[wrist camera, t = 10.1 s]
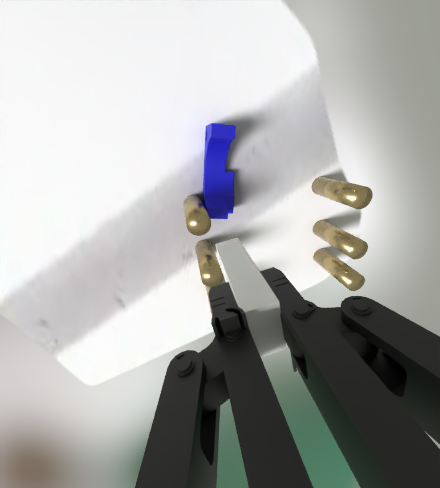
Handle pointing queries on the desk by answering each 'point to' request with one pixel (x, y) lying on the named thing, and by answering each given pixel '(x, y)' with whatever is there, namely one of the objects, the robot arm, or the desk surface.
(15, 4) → the desk surface
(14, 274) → the desk surface
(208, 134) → the blue curved block
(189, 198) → the spacers
